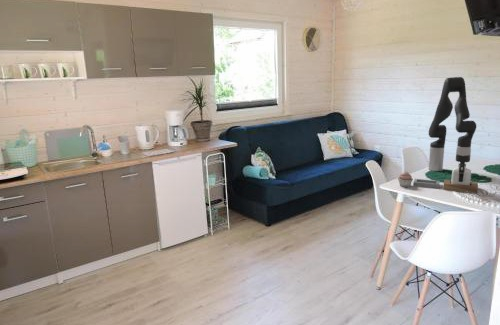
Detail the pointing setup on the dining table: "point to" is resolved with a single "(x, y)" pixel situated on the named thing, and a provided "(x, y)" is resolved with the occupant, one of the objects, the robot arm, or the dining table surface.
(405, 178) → the cupcake
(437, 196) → the dining table surface
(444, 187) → the dock
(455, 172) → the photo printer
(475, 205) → the dining table surface
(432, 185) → the holster
